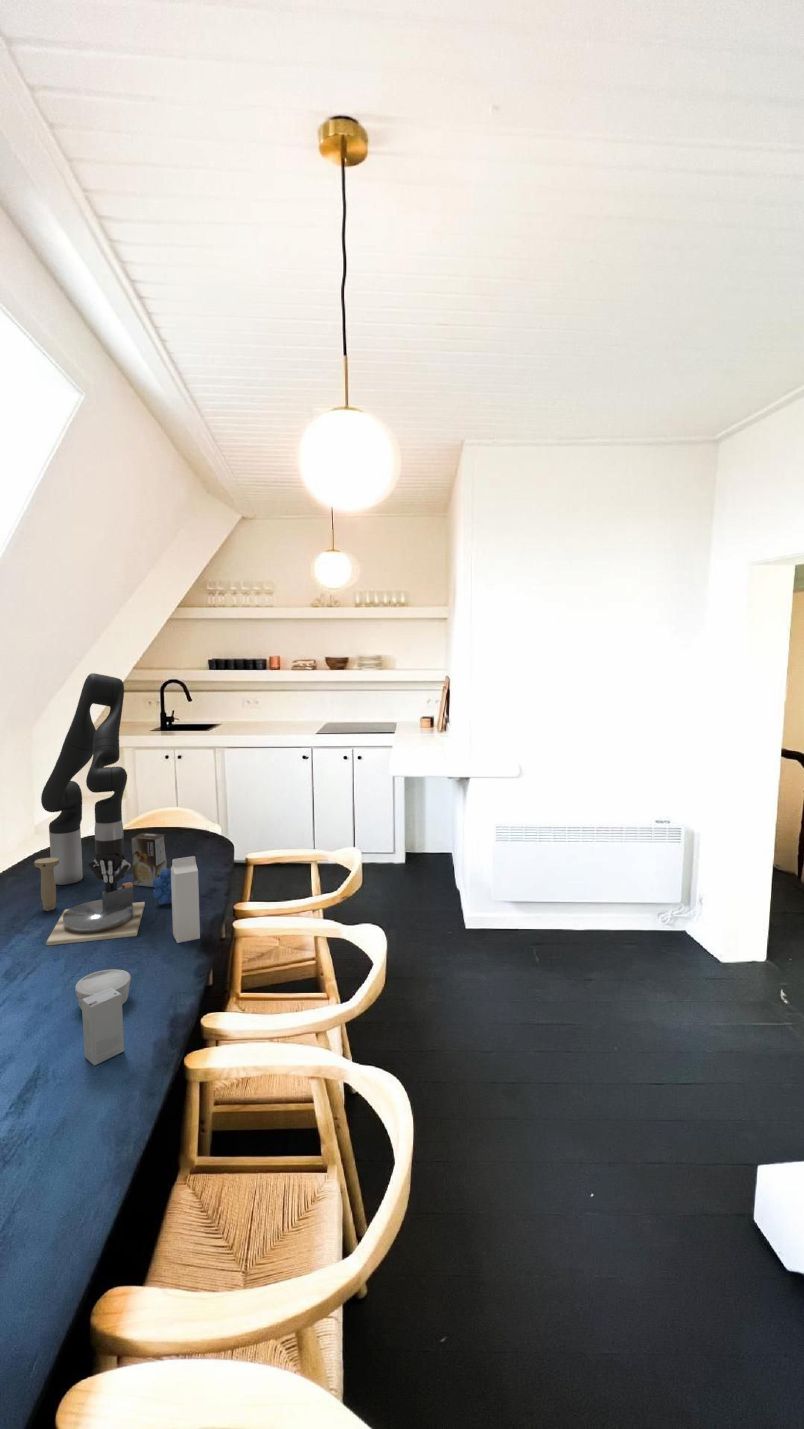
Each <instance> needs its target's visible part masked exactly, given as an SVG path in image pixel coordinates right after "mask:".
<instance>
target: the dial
mask: <svg viewBox="0 0 804 1429" xmlns="http://www.w3.org/2000/svg"><path fill="white" fill-rule="evenodd" d="M101 896H102V897H101V898H102V899H96V900H92V901H86V902H83V903H80V904H77V905H74V906H73V907H71V908H68V909H69V910H68V911H66V912H65V913H64V915H63V926H64V928H65V929H66V930H67V931H70V932H74V933H96V932H102V931H107V930H111V929H114V928H117V927H119V926H122V925H124V924H126V923H127V922H129V921H130V920H131V919H132V918H133V915H134V913H133V904H132V903H135V902H134V901H135V899H134V882H131V881H129V882H123V883H122V884H121V886H120V887H119V886H118V887H117V888H115V889H111V890H107V891H105V890H104V891H101Z"/></svg>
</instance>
